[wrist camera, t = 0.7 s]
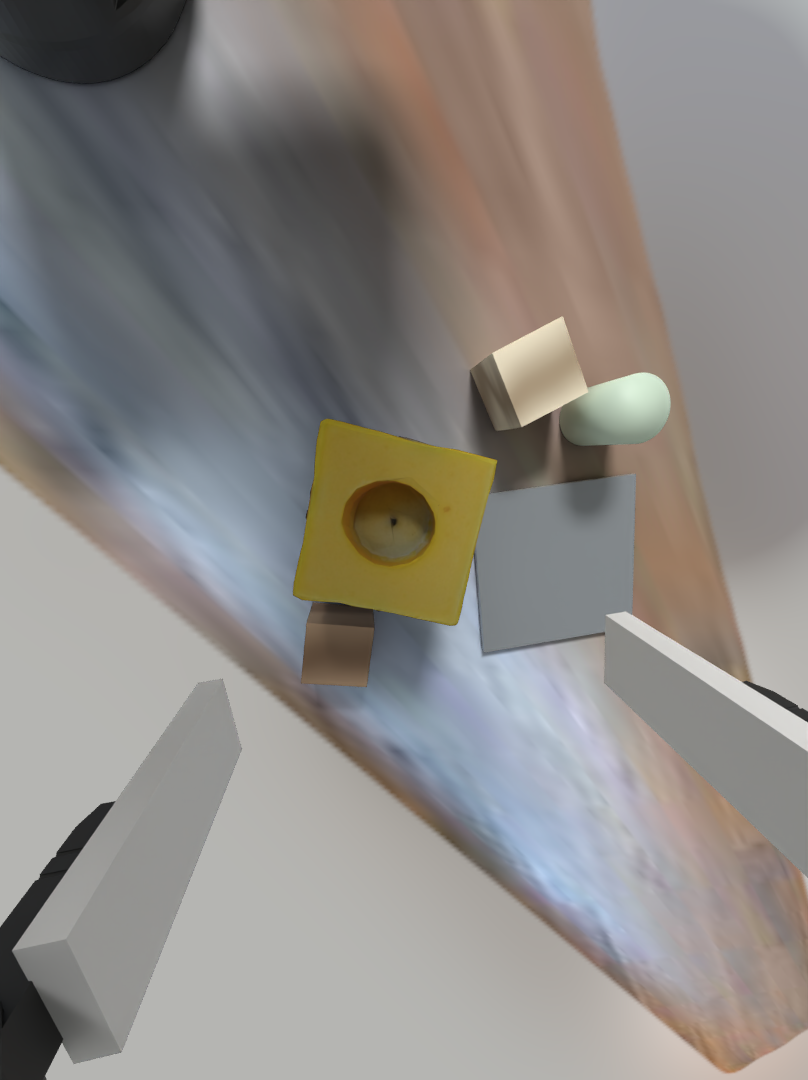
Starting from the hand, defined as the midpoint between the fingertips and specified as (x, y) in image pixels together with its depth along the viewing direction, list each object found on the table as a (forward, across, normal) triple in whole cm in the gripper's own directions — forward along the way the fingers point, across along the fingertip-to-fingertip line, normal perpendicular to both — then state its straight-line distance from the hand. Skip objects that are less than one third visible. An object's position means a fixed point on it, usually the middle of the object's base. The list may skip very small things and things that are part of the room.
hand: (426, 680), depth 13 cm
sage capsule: (+19, +17, +8) cm, 27 cm away
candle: (+19, 0, +3) cm, 19 cm away
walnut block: (+19, -5, -7) cm, 20 cm away
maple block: (+19, +11, +11) cm, 25 cm away
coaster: (+18, +14, -4) cm, 24 cm away
